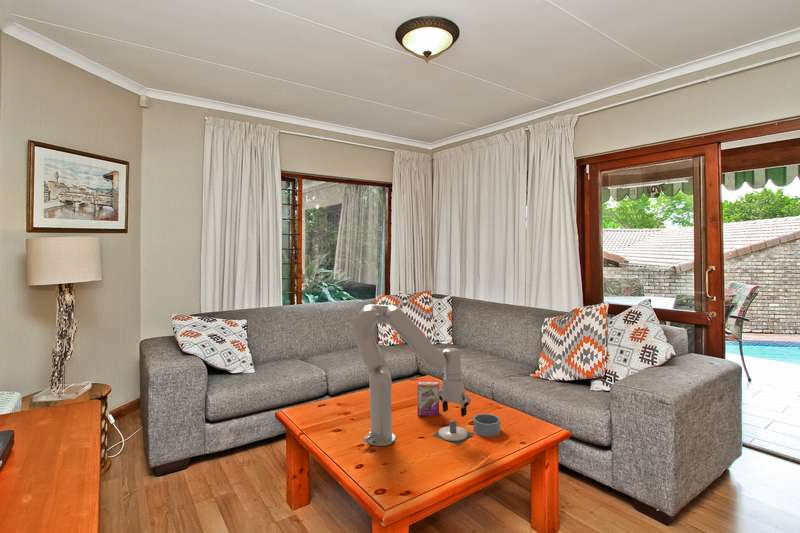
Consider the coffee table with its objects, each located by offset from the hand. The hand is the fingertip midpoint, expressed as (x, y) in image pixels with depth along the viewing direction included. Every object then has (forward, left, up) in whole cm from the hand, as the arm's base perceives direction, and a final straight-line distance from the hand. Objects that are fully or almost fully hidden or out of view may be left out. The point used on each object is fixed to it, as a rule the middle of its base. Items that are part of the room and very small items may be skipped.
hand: (454, 413), depth 187 cm
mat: (-1, +1, -10) cm, 10 cm away
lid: (-1, +1, -10) cm, 10 cm away
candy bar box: (+12, +24, -11) cm, 29 cm away
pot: (+12, -9, -10) cm, 19 cm away
